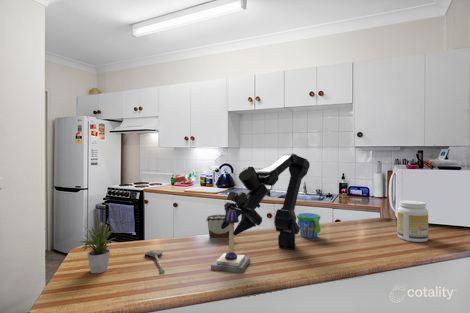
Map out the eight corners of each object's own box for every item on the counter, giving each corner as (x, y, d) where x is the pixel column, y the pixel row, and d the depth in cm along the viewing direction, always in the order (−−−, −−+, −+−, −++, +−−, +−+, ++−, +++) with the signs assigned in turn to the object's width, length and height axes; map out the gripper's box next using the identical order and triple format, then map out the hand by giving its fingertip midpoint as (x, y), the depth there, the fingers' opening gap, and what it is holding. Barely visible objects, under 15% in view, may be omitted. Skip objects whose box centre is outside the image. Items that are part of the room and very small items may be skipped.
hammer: (161, 254, 119) (144, 257, 116) (160, 245, 119) (143, 248, 116) (171, 272, 98) (151, 276, 96) (171, 262, 98) (151, 266, 96)
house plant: (76, 264, 104) (76, 219, 104) (118, 259, 110) (118, 215, 110) (71, 281, 91) (71, 228, 91) (119, 273, 97) (119, 224, 96)
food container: (234, 235, 141) (234, 214, 141) (232, 239, 135) (232, 217, 135) (208, 234, 142) (208, 214, 142) (206, 238, 136) (206, 216, 136)
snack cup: (291, 232, 146) (291, 212, 146) (311, 231, 148) (311, 211, 148) (305, 242, 130) (305, 219, 130) (327, 240, 133) (327, 218, 133)
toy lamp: (224, 255, 106) (225, 209, 106) (237, 255, 107) (238, 209, 107) (225, 260, 101) (226, 211, 102) (238, 259, 102) (239, 211, 102)
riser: (249, 261, 108) (249, 254, 108) (242, 272, 97) (242, 265, 97) (221, 258, 111) (221, 251, 111) (210, 269, 100) (210, 261, 100)
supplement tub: (433, 239, 133) (433, 202, 133) (420, 244, 127) (420, 205, 126) (405, 233, 144) (405, 199, 143) (392, 237, 137) (392, 201, 136)
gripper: (228, 180, 114) (202, 212, 108) (254, 185, 97) (225, 222, 92) (246, 199, 117) (221, 230, 112) (273, 207, 101) (246, 244, 96)
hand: (227, 231), depth 103 cm, fingers open, 9 cm apart
